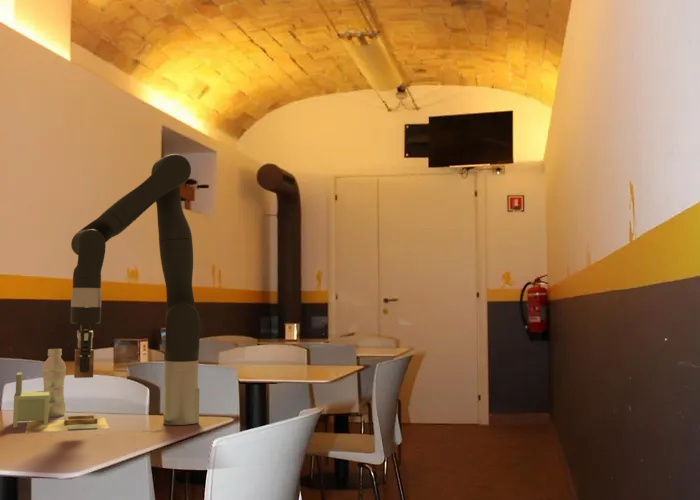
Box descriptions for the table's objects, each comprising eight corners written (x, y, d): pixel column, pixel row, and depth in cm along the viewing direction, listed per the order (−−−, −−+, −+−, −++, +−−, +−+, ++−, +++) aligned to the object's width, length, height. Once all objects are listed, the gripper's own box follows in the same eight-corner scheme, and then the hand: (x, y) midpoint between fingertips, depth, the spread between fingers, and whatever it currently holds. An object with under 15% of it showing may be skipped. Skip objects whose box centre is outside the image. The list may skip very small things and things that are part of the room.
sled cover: (48, 419, 206) (49, 371, 207) (48, 425, 196) (49, 374, 197) (14, 421, 203) (16, 372, 204) (12, 427, 193) (14, 375, 194)
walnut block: (92, 375, 198) (93, 349, 199) (93, 377, 194) (94, 350, 195) (74, 376, 197) (75, 349, 197) (74, 377, 193) (75, 350, 193)
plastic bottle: (70, 418, 217) (72, 348, 219) (49, 421, 212) (51, 350, 213) (55, 416, 221) (58, 348, 222) (35, 419, 215) (37, 349, 217)
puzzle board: (104, 421, 212) (104, 413, 212) (109, 432, 193) (109, 423, 194) (27, 425, 205) (27, 417, 205) (25, 436, 186) (25, 427, 186)
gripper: (70, 305, 202) (68, 369, 201) (71, 305, 189) (69, 374, 188) (99, 305, 205) (97, 368, 204) (102, 305, 192) (100, 373, 190)
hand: (83, 371), depth 196 cm, fingers closed on walnut block, 4 cm apart
